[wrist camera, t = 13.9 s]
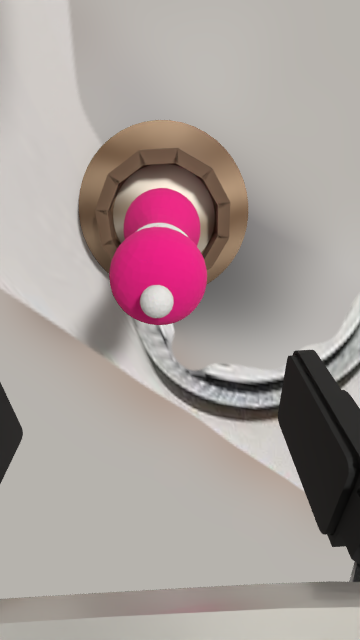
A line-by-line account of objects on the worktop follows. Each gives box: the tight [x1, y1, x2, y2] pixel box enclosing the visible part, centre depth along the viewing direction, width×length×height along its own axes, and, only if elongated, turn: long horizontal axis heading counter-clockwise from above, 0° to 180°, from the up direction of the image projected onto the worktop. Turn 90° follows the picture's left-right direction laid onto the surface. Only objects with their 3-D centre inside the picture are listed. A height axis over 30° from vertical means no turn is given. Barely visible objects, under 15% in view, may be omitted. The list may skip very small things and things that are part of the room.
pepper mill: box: [109, 188, 207, 325], centre depth 24 cm, size 7×7×20 cm
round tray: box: [79, 120, 248, 284], centre depth 33 cm, size 18×18×3 cm
